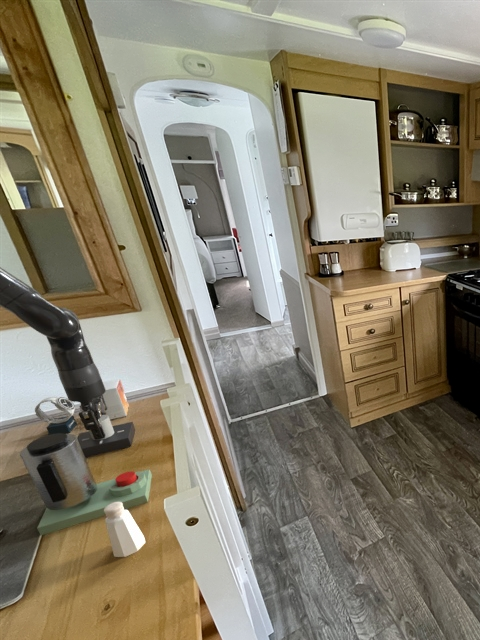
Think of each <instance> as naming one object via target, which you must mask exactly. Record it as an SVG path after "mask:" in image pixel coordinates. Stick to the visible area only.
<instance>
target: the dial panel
mask: <svg viewBox="0 0 480 640" xmlns="http://www.w3.org/2000/svg"><path fill="white" fill-rule="evenodd" d="M112 427H113V430H114V434H113V435H112V436H110V437H108V438H106V439H102V440H93V439H92V437H91V435H90V432H89V430H87V431H85V432H80V433H78V435H77V436H76V437H77V439H78V442H79V444H80V447H81V449H82V451H83V454H84V456H85V458H86V459H87V458H90V457H94V456H98V455H102V454H103V455H104V454H106V453H110V452H115V451H118V450H122V449H126V448H131V447H132V446H133V441H134V437H135V433H136V427H135V425H134V421H130V422H124V423H121V424H115V425H112ZM130 446H131V447H130Z"/></svg>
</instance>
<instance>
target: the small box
mask: <svg viewBox="0 0 480 640" xmlns="http://www.w3.org/2000/svg"><path fill="white" fill-rule="evenodd" d="M102 382H103V384H104V387H105V390H106V391H105V393H104V394H103V397H104V401H105V404H106V407H107V410H105V411H106V412H107V414H106V415H108V416H109V419H110V421H111V420H115V419H120V418H124V417H127V416H128V412H129V409H128V407H129V408H130V405H129V401H128V398H127V396H126V392H125V389H124V386H123V384H122V381H121V379H113V380H107V381H102Z"/></svg>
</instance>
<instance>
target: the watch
mask: <svg viewBox="0 0 480 640" xmlns="http://www.w3.org/2000/svg"><path fill="white" fill-rule="evenodd" d="M48 402H50V403H51V404H53V405H54V406H55V407H56V409H57V410H59V411H60V412H61V411H62V412H64V413H67V414H68V416H61V417H56V418H53V417H52V416H50V415H48V414H47V413H45V412H44V410H42V409H41V408H40V407H41V404H44V403H48ZM75 408H76V407H75V404H74V402H73V401H70V400H69V399H68V397H64V396H52V397H51V396H50V397H46V398H44V399H42V400H41V401H39V402H38V404H37V405H36V406H35V408H34V413H35V416H36V417H38V418H39V419H40V420H41V421H43V422H45V423H46V424H47V423H48V425H47V426H46V430H47V433H48V435H51V434H57V433H64V434H71V433H72V431H73V430H74V428H75V427H76V426H77V423H78V422H77V421H76V419H75V417H74V414H75V410H76V409H75Z"/></svg>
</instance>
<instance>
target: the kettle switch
mask: <svg viewBox="0 0 480 640" xmlns="http://www.w3.org/2000/svg"><path fill="white" fill-rule="evenodd" d="M135 472H136V471H131V470H130V471H125V472H123V473H121V474H119V475H117V476H116V477H115V478H114V479H115V480H116V483H117V485H118V487H124V486H128V485H130V484H132V483H134V482H135V481H136V480H137V477H136V474H135Z"/></svg>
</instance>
